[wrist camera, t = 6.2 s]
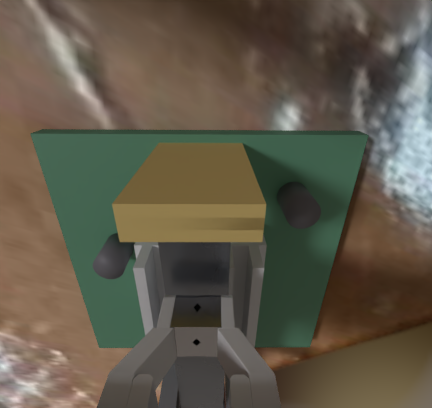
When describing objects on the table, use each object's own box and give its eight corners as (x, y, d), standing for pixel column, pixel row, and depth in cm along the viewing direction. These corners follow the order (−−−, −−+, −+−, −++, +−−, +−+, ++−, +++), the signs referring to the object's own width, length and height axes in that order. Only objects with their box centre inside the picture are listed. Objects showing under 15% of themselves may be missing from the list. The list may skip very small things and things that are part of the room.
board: (358, 131, 16) (502, 190, 8) (305, 335, 26) (349, 460, 17) (42, 129, 16) (-133, 188, 8) (104, 336, 25) (51, 462, 17)
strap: (232, 222, 11) (233, 236, 10) (223, 399, 20) (224, 415, 19) (158, 221, 11) (153, 236, 10) (181, 400, 20) (180, 416, 19)
